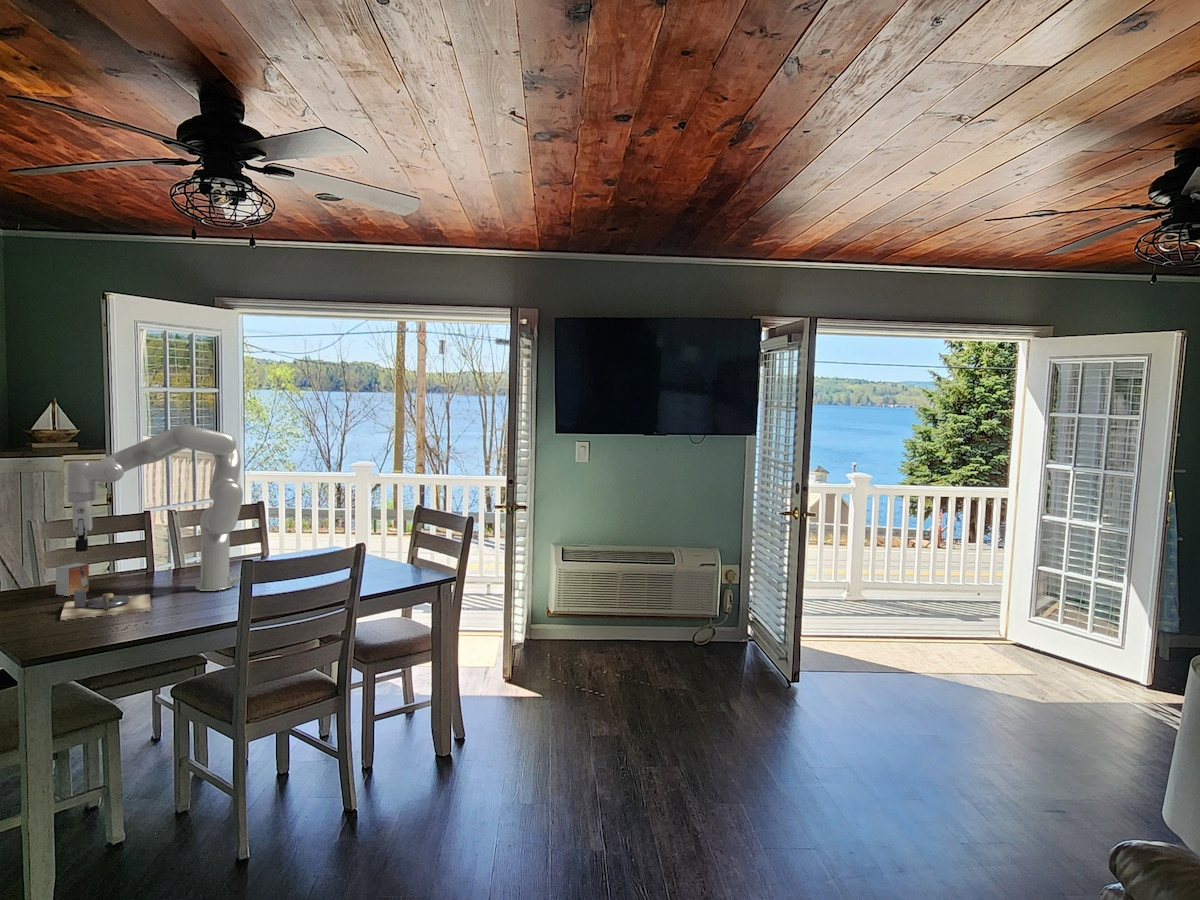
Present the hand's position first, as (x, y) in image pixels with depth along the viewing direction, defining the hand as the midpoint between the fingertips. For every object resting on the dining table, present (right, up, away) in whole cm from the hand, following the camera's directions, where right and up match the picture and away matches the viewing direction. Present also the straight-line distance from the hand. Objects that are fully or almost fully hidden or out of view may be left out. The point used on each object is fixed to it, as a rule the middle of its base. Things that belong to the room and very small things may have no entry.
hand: (81, 550), depth 233 cm
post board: (+10, -20, -1) cm, 22 cm away
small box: (-14, -18, +14) cm, 27 cm away
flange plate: (+9, -18, -2) cm, 20 cm away
